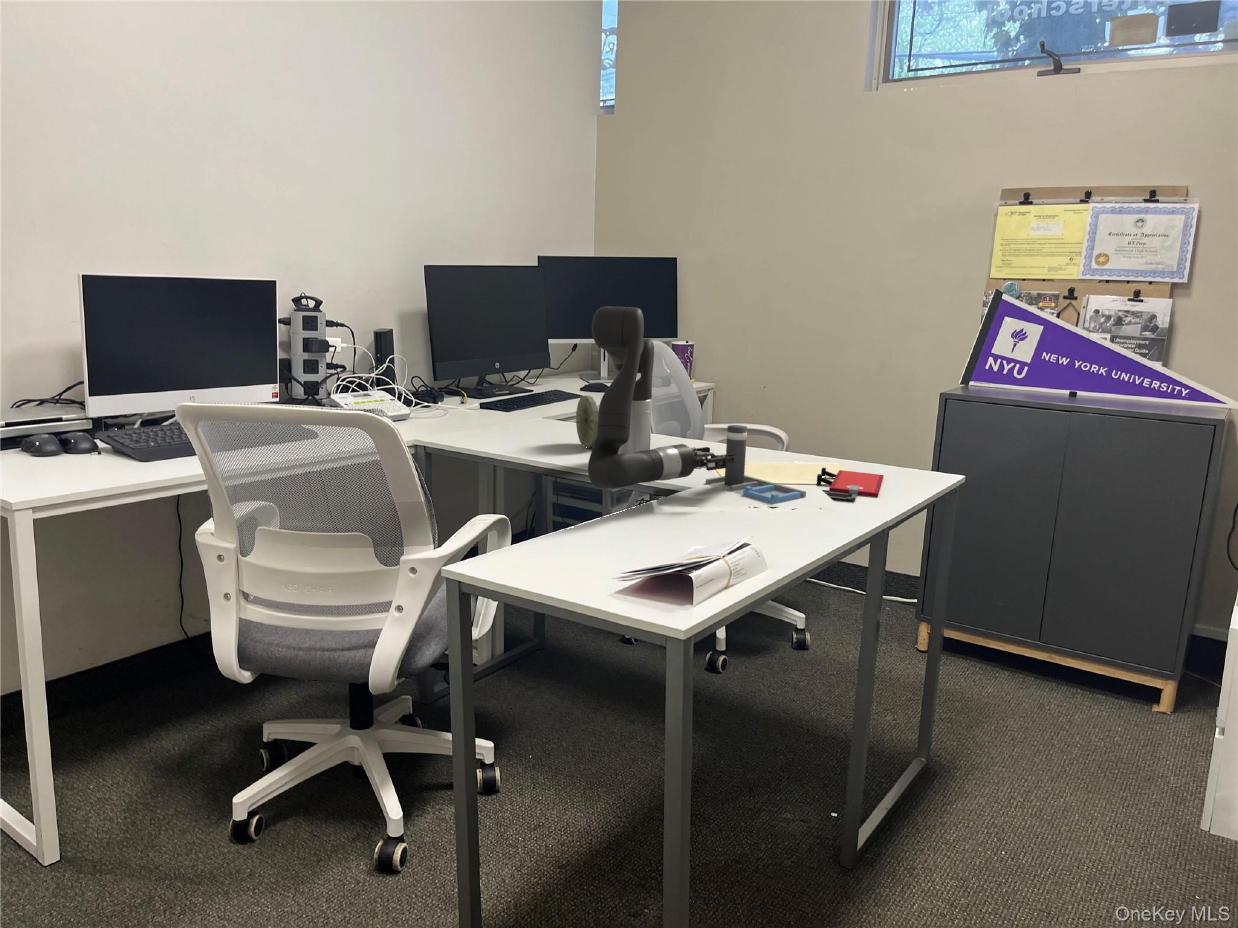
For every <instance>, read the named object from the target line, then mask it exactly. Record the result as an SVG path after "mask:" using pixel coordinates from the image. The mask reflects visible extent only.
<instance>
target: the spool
mask: <svg viewBox="0 0 1238 928" xmlns="http://www.w3.org/2000/svg"><path fill="white" fill-rule="evenodd" d="M576 405H577V406H576V412H575V425H576V432H577V436H578V439H579V440H578V441H579V442H580V445H581V446H582V445H584V446H585V447H587V448H586V449H592V448H593V445H594V442H595V439H596V436H597V428H598V427H597V426H598V412H599V405H597V402H596V400H595V399H594V397H593V396H591V395H588V394H587V395H586V394H585V395H582V396H581V397H579V400H578V402H577V404H576ZM585 447H584V448H585ZM591 447H592V448H591Z"/></svg>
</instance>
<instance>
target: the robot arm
mask: <svg viewBox="0 0 1238 928" xmlns="http://www.w3.org/2000/svg"><path fill="white" fill-rule="evenodd" d="M644 323H645V320H644V314H643V312H642V310H641V308H639V307H635V306H634V307H633V306H611V305H610V306H609V305H606V306H602V307H599V308H598V309H597V310H596V311H595V312H594V315H593V317H592V321H591V334H592V339H593V340H594V343H595V345H596V346H597V347H598V348H600V349H603V350H604V351H605V352H606V353H607V354H608V355H609V357H610V358H611V360H612V364H613V367H614V368H615V370H616V371H617V372H618V373H617V375H616V376H615V377H614V378H613V380H612V381H611V383H610V385H609V386H608V388H607V389H606V390H605V392H604V393H603V395H602V397H601V399H600V402H599V405H598V406H599V412H598V426H597V427H598V428H597V436H596V439H595V442H594V445H593V447H592V448H591V452H590V455H589V459H588V465H587V474H588V478H589V481H590V483H591V484H592V485H593V487H596V488H598V489H601V490H602V489H615V488H616V489H618V488H625V487H629V486H634V485H638V484H641V483H642V484H643V483H644V484H645V483H651V482H656V481H661V482H662V481H669V480H674V479H675V480H676V479H681V478H687V477H689V476H690V475H692V473H693V472H694V471H695V470H701V469H705V470H706V471H708V472H709V471H714V470H715V471H717V470H722V469H724V470H725V468H728V464H732V463H735V456H736V455H735V454H733V453H731V454H726V453H725V454H724V453H723V454H715V453H714V452H711V448H710V447H708V446H704V447H703V446H702V447H697V448H696V447H695V446H694V447H690V446H688V445H687V444H684V443H679V444H673V445H671V444H670V445H666V446H659V447H656V448H655V447H654V448H652V449H651V434H652V433H651V432H652V406H653V404H652V403H653V402H652V401H653V374H654V373H653V372H654V362H655V345H654V341H653V340H652V339H651V338H645V337H644V334H645V333H644V332H645V328H644V327H645V324H644ZM638 374H640V376H639V378H638V379H637V377H638Z"/></svg>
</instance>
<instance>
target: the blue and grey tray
mask: <svg viewBox="0 0 1238 928" xmlns="http://www.w3.org/2000/svg"><path fill="white" fill-rule="evenodd" d="M724 483H725V475H723V476H716V477H711V478H706V479H705V483H704V484H705V485H708V486H711V487H714V488H718V489H721V490H725V491H728V492H732V493H735V494H739V495H741V496H746V497H747V498H748V497H749V498H753V499H756V500H759V501H762V502H766V503H770V504H778V503H782V502H787V501H792V500H796V499H802V498H806V497H807V491H805V490H801V489H798V488H794V487H790V486H786V485H783V484H780V483H776V482H772V481H768V480H764V479H761V478H757V477H754V476H749V475H746V474H744V483H743V484H737V485H732V486H727V485H725V484H724ZM768 508H769V509H772V510H773V509H778V508H779V506H768Z"/></svg>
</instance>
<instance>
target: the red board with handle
mask: <svg viewBox="0 0 1238 928" xmlns="http://www.w3.org/2000/svg"><path fill="white" fill-rule="evenodd" d="M822 476H825V478H822ZM826 477H829V478H831V477H835V479H834V478H833V479H834V480H833V481H832V480H830V479H828V478H826ZM883 480H884V474H880V473H879V474H878V473H869V472H857V471H851V470H841V469H839V470H838V472H837V473H833V472H831V471H828V470H827V468H826V467H822V468H821V472H820V473H817V476H816V485H817V484H818V485H817V486H821V485H822V483H823V484H826V485H829V489H827V490H826V489H821V491H822V492H823V493H824V494H825V495H827V496H828V498H835V499H844V500H849V501H850V500H852V501H855V500H856V499H857V496H862V497H871V498H878V497H879V494H880V491H881V487H882V483H883Z"/></svg>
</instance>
